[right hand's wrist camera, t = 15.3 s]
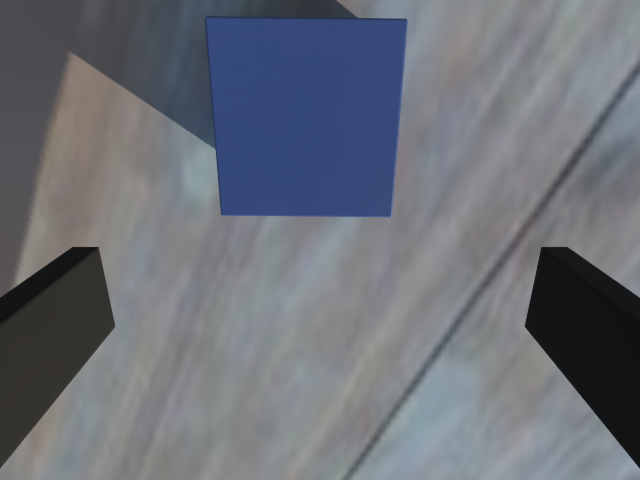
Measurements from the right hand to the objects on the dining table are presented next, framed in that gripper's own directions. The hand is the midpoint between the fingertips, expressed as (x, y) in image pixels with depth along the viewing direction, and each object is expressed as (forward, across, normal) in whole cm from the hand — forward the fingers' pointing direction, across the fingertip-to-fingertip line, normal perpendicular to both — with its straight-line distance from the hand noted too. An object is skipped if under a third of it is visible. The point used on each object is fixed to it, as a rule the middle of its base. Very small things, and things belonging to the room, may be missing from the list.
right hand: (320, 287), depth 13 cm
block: (+17, +1, -4) cm, 17 cm away
